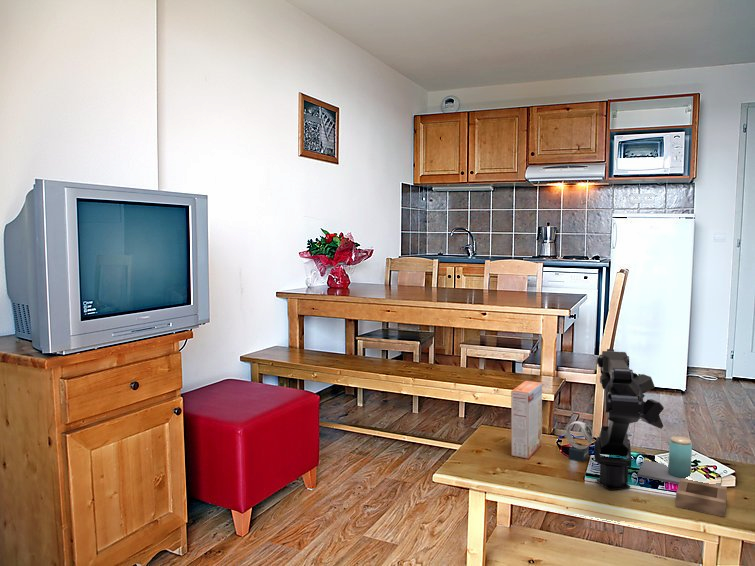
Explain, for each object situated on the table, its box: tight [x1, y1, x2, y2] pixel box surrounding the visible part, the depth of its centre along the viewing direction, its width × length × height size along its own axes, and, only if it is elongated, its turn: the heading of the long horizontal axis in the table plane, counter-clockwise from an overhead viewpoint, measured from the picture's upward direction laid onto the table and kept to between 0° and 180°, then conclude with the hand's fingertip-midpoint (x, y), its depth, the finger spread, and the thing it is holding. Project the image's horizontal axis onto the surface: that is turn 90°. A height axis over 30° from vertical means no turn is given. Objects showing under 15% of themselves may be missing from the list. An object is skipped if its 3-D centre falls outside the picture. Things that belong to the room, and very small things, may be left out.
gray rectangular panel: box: [637, 459, 722, 486], centre depth 166 cm, size 20×12×1 cm, turn 58°
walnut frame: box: [675, 478, 728, 518], centre depth 150 cm, size 11×11×4 cm
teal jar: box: [667, 435, 693, 478], centre depth 166 cm, size 6×6×10 cm
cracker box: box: [510, 380, 543, 460], centre depth 187 cm, size 14×6×21 cm, turn 148°
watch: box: [565, 420, 595, 463], centre depth 181 cm, size 6×8×11 cm
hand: (651, 422), depth 172 cm, fingers open, 9 cm apart
